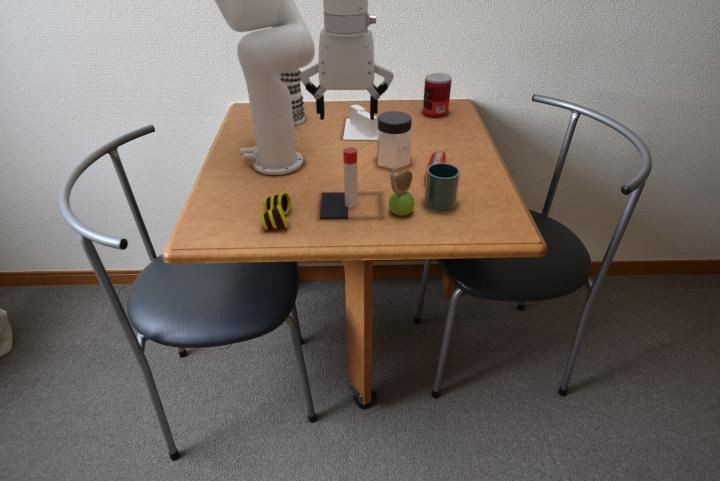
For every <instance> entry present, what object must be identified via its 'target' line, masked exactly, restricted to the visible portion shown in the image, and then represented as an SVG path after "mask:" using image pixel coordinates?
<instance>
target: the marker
mask: <svg viewBox="0 0 720 481" xmlns="http://www.w3.org/2000/svg"><path fill="white" fill-rule="evenodd" d="M342 155H343V183H344V184H343V185H344V187H343V188H344V192H345V206H346V207H348V209H349V208H350V209H353V208H356V207H357V206H358V205H359V194H358V193H359V192H358V190H359V187H358V184H359V183H358V149H357V148H356V147H353V146H347V147H344V149H342Z"/></svg>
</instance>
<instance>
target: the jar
mask: <svg viewBox="0 0 720 481" xmlns="http://www.w3.org/2000/svg"><path fill="white" fill-rule="evenodd" d="M377 117H378V125H377V140H376V161H377V165H378V166H379V167H384V168H388V169H392V170H397V169H400V168H403V167H406V166H409V165H410V164H411V163H410V162H411V151H412V150H411V149H412V148H411V147H412V126H413V125H412V123H413V121H412V116H411V114H409V113H407V112H404V111H400V110H399V111H398V110H389V111H384V112H382V113H380V114H379V115H378V116H377Z"/></svg>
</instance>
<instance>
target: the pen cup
mask: <svg viewBox="0 0 720 481" xmlns="http://www.w3.org/2000/svg"><path fill="white" fill-rule="evenodd" d="M426 171H427V172H426ZM426 171H425V174H426V184H425V183H424V196H423V198H424V199H423V204H424V205H425V207H426V208H428V209H429V210H432V211H435V212H447V211H451V210H453V209H454V208H455V207H456V205H457V198H458V192H459V184H460V178H461V177H460V176H461V170H460V168H459V167H458V166H456V165H455V164H452V163H447V162H445V163H436V164H432V165H430V166H429V167H428V166H427V168H426Z"/></svg>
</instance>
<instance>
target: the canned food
mask: <svg viewBox="0 0 720 481" xmlns="http://www.w3.org/2000/svg"><path fill="white" fill-rule="evenodd" d="M452 79H453V77H452V75H451V74H448V73H444V72H431V73H428V74H426V75H425V76H424V85H423V86H424V87H423V101H422V102H423V103H422V113H423V114H424V115H425V116H427V117H429V118H443V117H445V116H447V115H448V112H449V108H450V99H451V91H452Z"/></svg>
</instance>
